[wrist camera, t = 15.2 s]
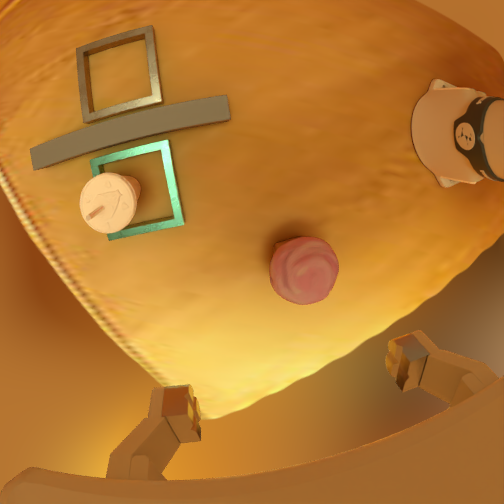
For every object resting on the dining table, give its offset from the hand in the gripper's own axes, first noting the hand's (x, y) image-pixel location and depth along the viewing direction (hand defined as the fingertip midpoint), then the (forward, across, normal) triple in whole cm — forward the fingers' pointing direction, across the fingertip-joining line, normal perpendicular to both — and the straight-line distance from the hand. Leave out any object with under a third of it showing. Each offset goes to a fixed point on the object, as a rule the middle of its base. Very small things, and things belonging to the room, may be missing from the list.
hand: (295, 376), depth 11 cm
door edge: (+32, +12, -12) cm, 36 cm away
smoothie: (+32, +14, -4) cm, 35 cm away
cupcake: (+32, -7, +9) cm, 34 cm away
